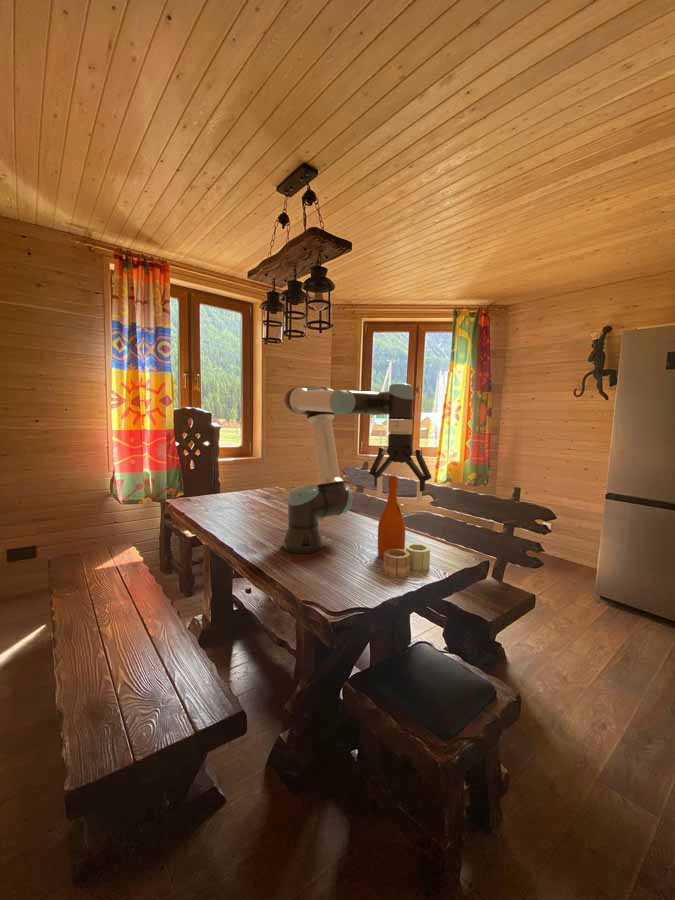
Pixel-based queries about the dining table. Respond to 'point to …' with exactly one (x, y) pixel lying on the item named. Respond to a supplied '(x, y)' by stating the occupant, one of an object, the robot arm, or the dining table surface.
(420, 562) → the sage ring
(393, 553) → the birch ring
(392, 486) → the wine bottle
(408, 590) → the dining table surface
